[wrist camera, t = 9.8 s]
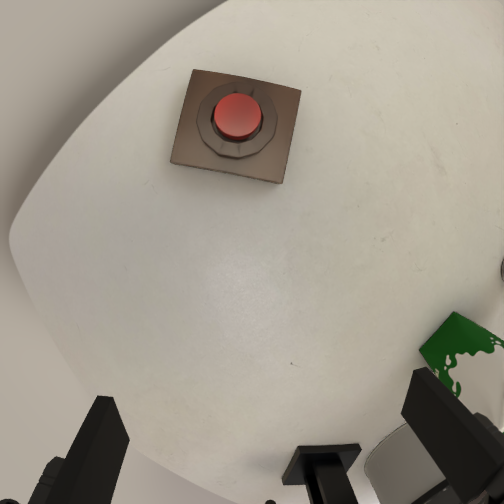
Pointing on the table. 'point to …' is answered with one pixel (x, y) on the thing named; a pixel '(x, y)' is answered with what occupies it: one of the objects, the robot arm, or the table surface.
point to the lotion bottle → (503, 270)
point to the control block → (228, 150)
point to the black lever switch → (324, 472)
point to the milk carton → (469, 365)
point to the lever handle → (270, 502)
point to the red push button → (237, 116)
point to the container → (407, 472)
